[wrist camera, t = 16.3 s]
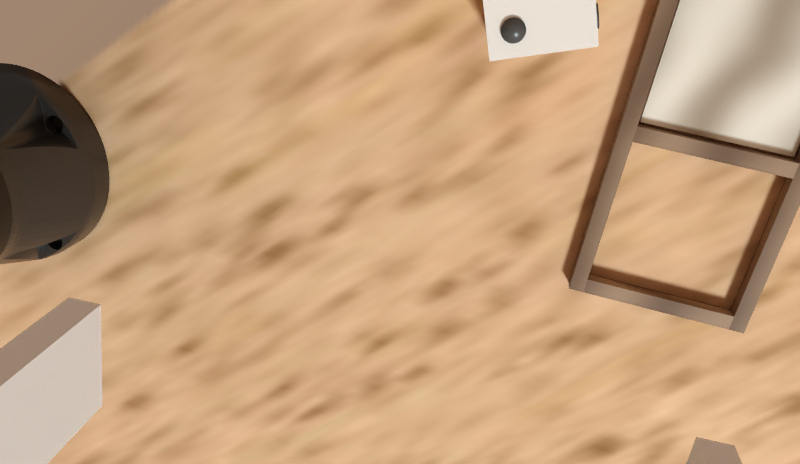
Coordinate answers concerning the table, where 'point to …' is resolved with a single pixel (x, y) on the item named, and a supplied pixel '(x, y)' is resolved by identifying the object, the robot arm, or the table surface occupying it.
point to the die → (539, 26)
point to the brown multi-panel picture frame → (710, 127)
